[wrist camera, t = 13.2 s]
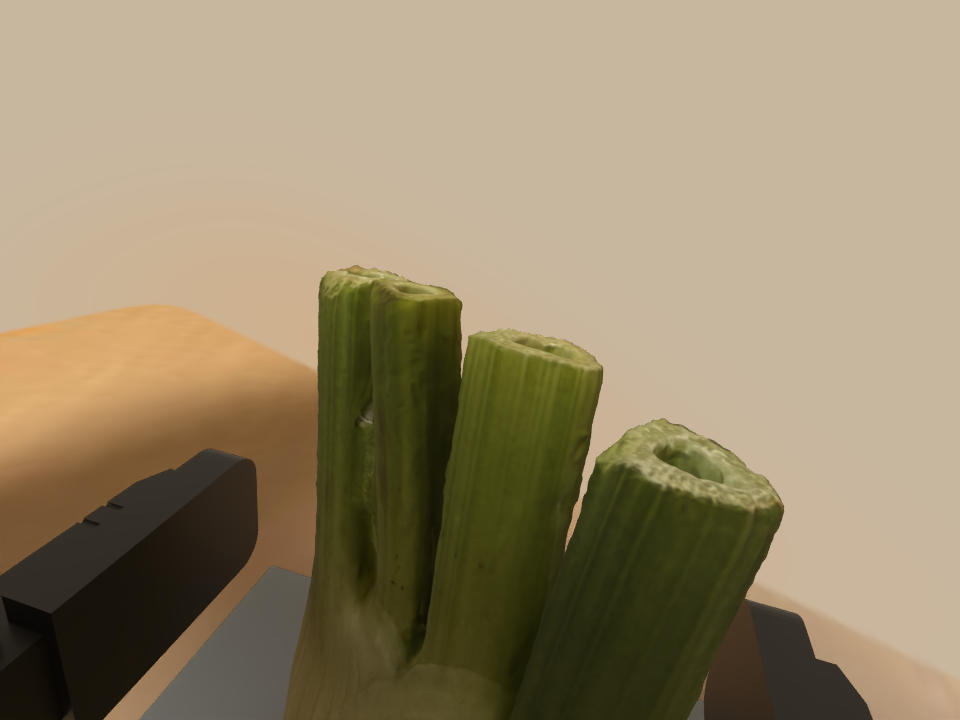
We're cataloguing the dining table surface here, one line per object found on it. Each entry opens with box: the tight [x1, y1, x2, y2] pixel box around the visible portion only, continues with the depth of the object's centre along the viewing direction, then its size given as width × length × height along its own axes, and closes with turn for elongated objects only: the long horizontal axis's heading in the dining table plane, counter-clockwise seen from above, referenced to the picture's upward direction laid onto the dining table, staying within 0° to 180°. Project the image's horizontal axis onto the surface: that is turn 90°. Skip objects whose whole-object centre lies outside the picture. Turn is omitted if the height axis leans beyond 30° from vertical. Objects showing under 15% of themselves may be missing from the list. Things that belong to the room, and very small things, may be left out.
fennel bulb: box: [283, 265, 784, 720], centre depth 8 cm, size 6×5×12 cm
